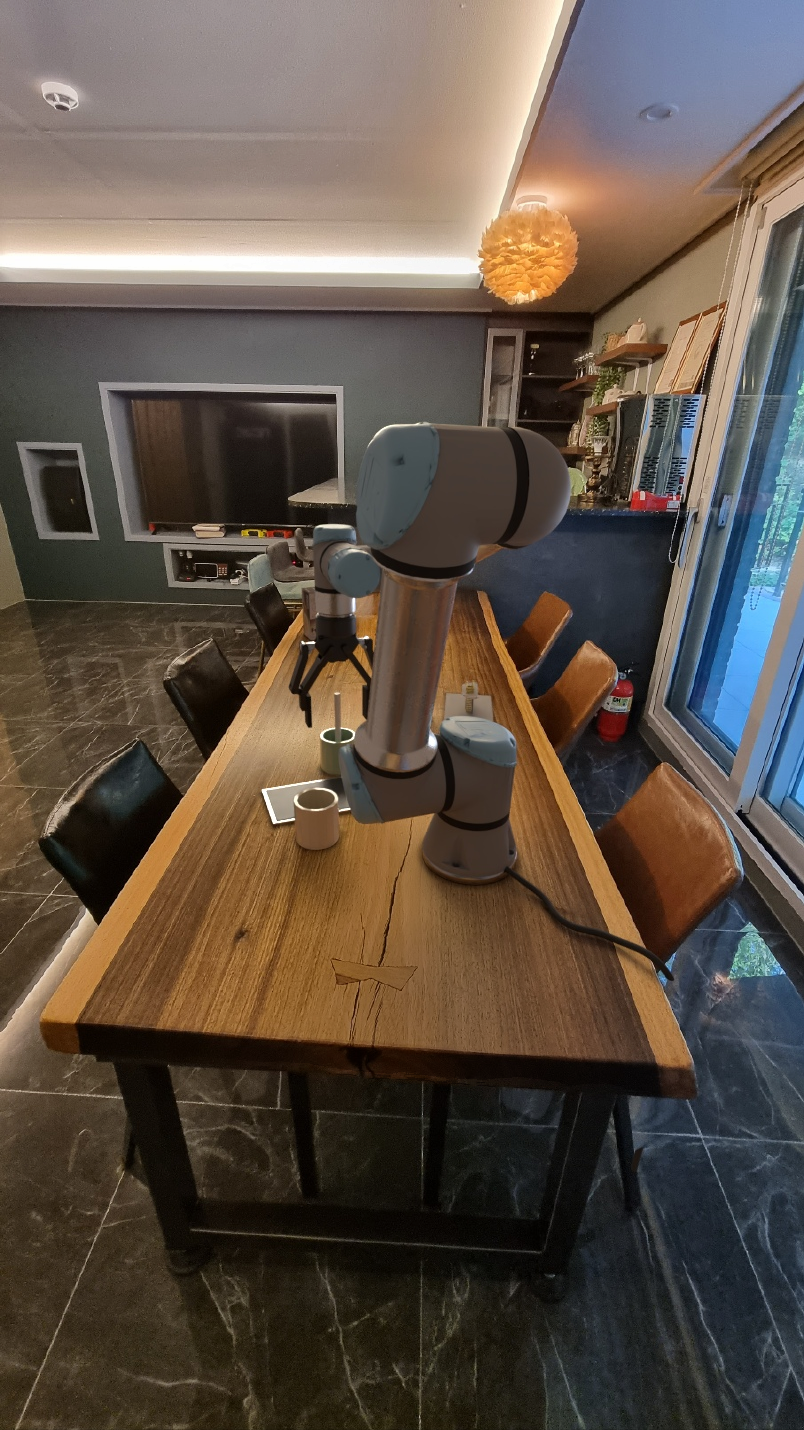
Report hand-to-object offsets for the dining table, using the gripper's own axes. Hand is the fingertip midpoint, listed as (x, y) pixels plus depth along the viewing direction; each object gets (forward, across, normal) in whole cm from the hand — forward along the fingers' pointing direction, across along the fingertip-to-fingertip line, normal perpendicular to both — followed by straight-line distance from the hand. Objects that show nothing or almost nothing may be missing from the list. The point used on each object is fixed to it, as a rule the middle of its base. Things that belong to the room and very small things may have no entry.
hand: (337, 721), depth 121 cm
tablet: (+11, +8, +11) cm, 17 cm away
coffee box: (+11, -18, -92) cm, 94 cm away
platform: (+11, -40, -20) cm, 46 cm away
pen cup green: (+11, 0, 0) cm, 11 cm away
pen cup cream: (+11, +10, +22) cm, 26 cm away
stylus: (+10, 0, 0) cm, 10 cm away
